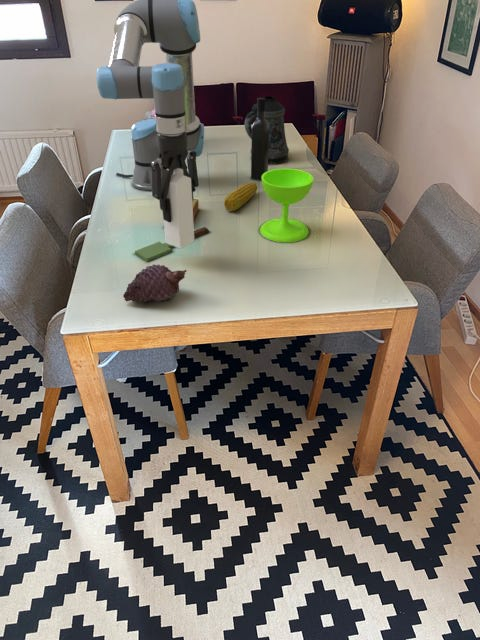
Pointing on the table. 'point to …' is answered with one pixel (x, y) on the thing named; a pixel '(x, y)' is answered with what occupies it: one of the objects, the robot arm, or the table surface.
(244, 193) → the food
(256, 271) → the table surface
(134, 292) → the pine cone
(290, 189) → the wineglass
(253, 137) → the wine bottle
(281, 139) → the beer stein
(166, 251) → the spatula
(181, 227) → the milk
